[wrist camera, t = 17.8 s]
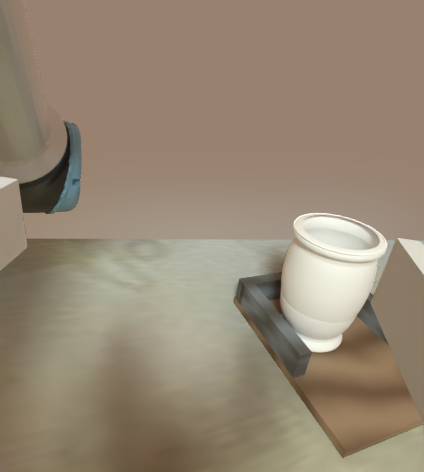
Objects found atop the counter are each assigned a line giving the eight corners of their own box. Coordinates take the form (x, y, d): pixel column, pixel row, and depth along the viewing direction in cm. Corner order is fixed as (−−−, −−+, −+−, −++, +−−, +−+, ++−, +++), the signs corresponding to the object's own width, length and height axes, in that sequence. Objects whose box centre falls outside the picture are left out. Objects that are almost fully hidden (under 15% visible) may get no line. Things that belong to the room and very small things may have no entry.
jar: (299, 370, 42) (334, 260, 35) (255, 313, 50) (276, 215, 43) (366, 349, 47) (409, 248, 40) (316, 300, 55) (344, 209, 48)
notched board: (233, 302, 54) (238, 277, 52) (326, 286, 60) (333, 263, 58) (342, 457, 34) (357, 427, 32) (460, 408, 41) (478, 380, 39)
